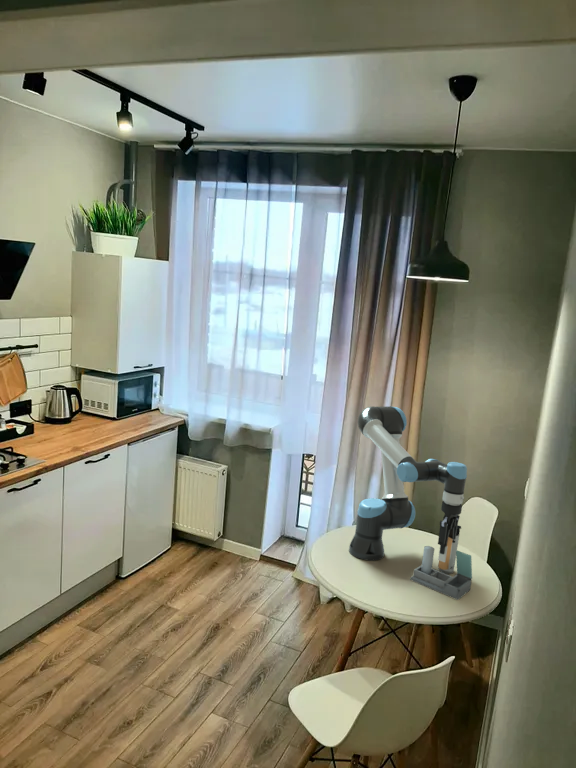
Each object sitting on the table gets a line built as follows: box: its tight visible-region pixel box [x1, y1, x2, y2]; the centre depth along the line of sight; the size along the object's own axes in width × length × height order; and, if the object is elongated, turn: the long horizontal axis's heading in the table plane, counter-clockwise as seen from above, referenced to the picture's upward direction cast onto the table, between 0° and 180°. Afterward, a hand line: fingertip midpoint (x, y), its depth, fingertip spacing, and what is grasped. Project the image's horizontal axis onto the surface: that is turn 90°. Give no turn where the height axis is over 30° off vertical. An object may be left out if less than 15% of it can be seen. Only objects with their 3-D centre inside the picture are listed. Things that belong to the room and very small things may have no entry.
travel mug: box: [438, 525, 462, 575], centre depth 238 cm, size 6×7×20 cm
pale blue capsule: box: [421, 545, 435, 575], centre depth 230 cm, size 4×4×12 cm
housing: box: [409, 564, 473, 601], centre depth 226 cm, size 20×12×4 cm, turn 50°
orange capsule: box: [437, 537, 453, 570], centre depth 224 cm, size 4×4×12 cm
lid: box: [456, 550, 473, 580], centre depth 224 cm, size 6×12×1 cm
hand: (444, 559), depth 225 cm, fingers closed on orange capsule, 4 cm apart
